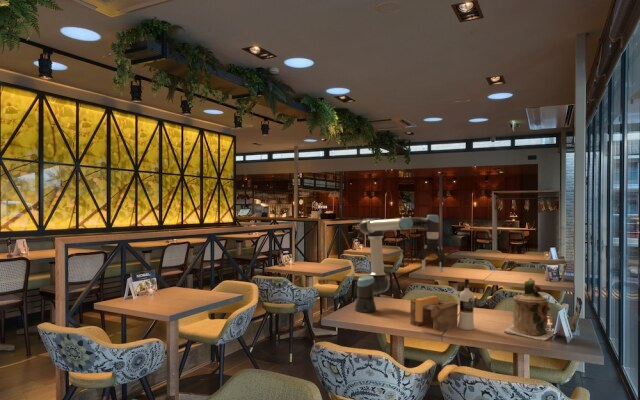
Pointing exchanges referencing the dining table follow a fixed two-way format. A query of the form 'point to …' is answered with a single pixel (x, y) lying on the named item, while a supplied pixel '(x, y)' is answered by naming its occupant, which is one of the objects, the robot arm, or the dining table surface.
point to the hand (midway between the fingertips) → (432, 271)
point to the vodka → (466, 308)
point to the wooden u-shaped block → (424, 302)
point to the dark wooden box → (438, 315)
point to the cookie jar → (530, 314)
